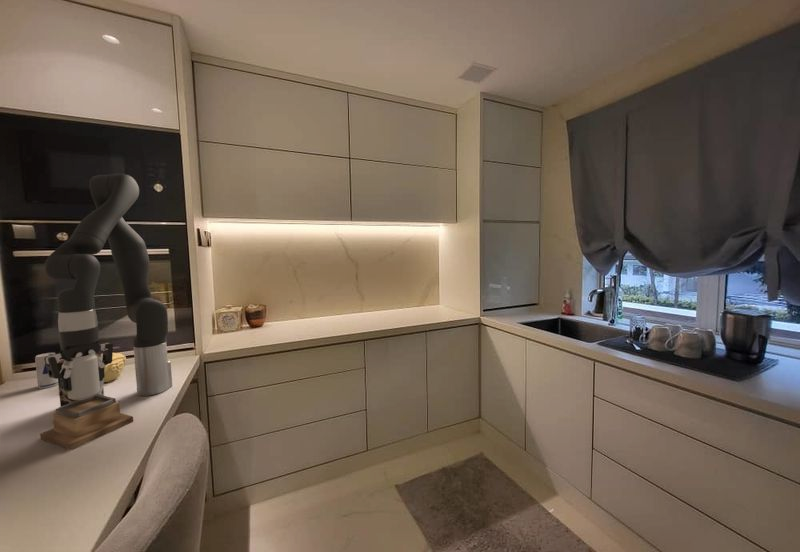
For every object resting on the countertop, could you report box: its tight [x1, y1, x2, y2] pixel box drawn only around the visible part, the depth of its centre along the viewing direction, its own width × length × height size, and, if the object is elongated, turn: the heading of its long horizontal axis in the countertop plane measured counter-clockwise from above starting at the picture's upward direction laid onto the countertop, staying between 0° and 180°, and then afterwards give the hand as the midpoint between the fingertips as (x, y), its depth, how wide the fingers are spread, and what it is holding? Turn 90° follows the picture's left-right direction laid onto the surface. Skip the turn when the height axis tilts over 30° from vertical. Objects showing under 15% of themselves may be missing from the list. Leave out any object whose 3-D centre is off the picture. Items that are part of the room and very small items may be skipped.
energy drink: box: [34, 352, 59, 390], centre depth 118 cm, size 5×5×12 cm
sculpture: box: [101, 352, 127, 383], centre depth 123 cm, size 12×12×11 cm
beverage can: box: [65, 353, 100, 400], centre depth 88 cm, size 6×6×12 cm
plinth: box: [39, 394, 134, 450], centre depth 89 cm, size 14×14×8 cm
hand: (83, 385), depth 88 cm, fingers closed on beverage can, 6 cm apart
